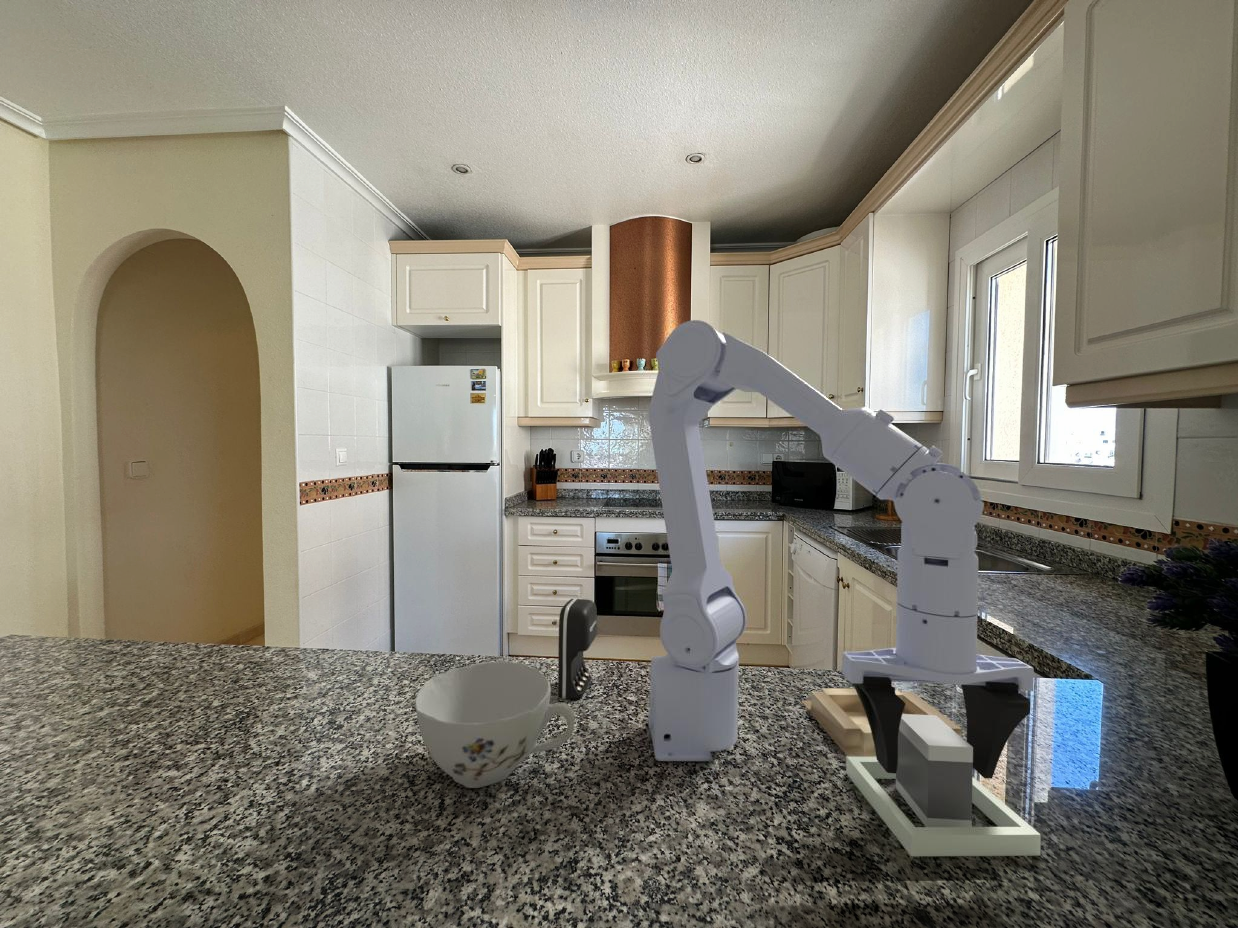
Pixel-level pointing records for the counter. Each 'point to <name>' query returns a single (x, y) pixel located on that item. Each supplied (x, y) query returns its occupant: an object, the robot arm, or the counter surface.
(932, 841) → the tray
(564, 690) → the black battery charger
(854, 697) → the tray
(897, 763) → the robot arm
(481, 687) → the teacup
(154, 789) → the counter surface
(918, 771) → the grey rectangular block
